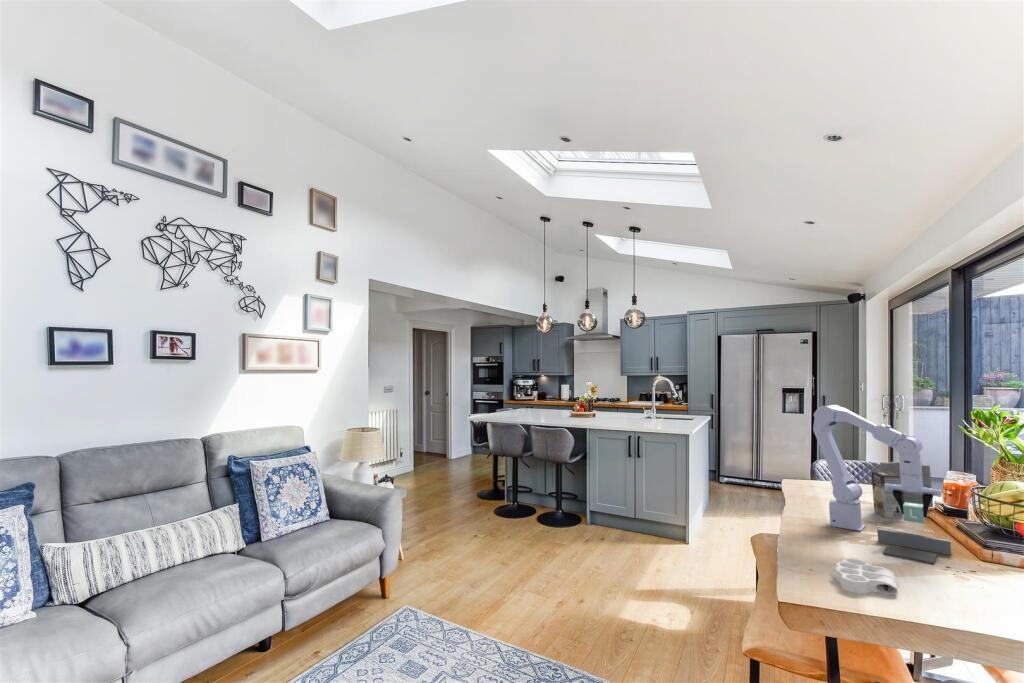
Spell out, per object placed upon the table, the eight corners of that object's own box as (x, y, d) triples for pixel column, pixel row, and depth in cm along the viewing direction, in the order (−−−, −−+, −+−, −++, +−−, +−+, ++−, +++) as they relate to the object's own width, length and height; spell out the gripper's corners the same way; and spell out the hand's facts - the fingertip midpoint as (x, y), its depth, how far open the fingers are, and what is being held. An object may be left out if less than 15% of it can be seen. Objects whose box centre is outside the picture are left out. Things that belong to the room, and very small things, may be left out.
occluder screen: (878, 541, 160) (877, 529, 161) (879, 540, 162) (878, 528, 162) (951, 555, 148) (949, 541, 148) (951, 553, 149) (950, 540, 149)
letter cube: (904, 520, 160) (902, 505, 161) (906, 517, 164) (904, 501, 164) (923, 523, 157) (922, 507, 157) (925, 519, 160) (924, 504, 161)
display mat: (883, 554, 150) (882, 552, 150) (887, 546, 156) (887, 544, 156) (934, 564, 141) (933, 562, 141) (937, 555, 147) (936, 553, 148)
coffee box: (873, 511, 193) (870, 470, 194) (891, 511, 191) (888, 470, 192) (886, 518, 184) (882, 475, 185) (905, 519, 182) (901, 475, 183)
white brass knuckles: (899, 603, 120) (829, 589, 129) (894, 577, 135) (831, 566, 143) (898, 589, 120) (828, 576, 129) (893, 564, 135) (830, 554, 144)
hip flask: (932, 508, 194) (928, 458, 195) (934, 511, 191) (930, 460, 192) (883, 503, 203) (879, 455, 204) (884, 506, 199) (880, 457, 201)
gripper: (881, 473, 164) (885, 513, 163) (938, 478, 153) (942, 522, 152) (885, 469, 169) (888, 509, 168) (940, 474, 158) (944, 517, 157)
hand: (914, 515), depth 160 cm, fingers closed on letter cube, 5 cm apart
